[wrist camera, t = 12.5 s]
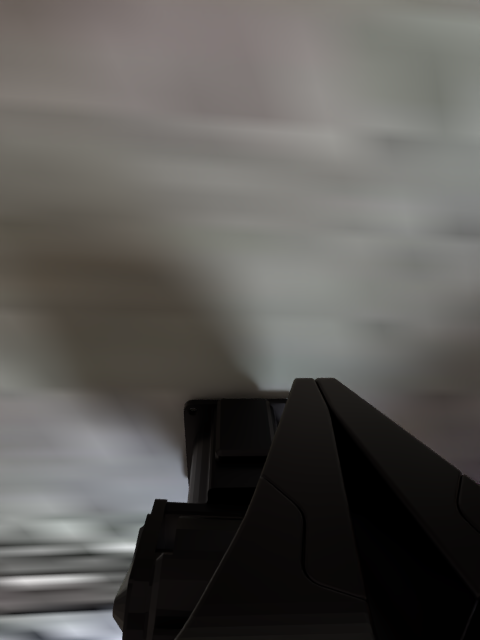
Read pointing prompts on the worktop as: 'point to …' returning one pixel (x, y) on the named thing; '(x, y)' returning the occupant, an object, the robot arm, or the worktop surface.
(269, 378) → the worktop surface
